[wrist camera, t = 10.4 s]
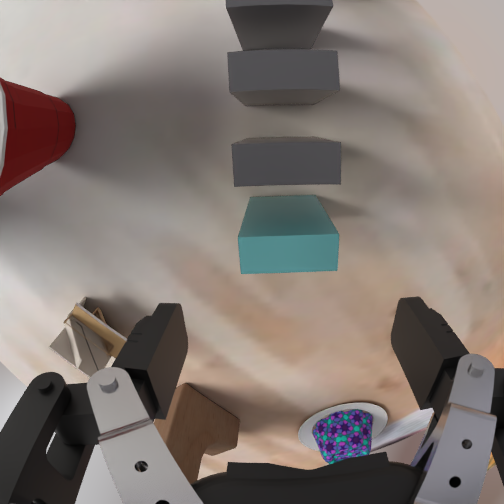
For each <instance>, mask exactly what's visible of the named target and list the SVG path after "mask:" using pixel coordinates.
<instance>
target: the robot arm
mask: <svg viewBox="0 0 504 504" xmlns="http://www.w3.org/2000/svg"><path fill="white" fill-rule="evenodd" d="M391 344H392V347H393V350H394V352H395V354H396V356H397V358H398V360H399V362H400V364H401V367H402V369H403V371H404V373H405V375H406V378H407V380H408V382H409V384H410V387H411V389H412V391H413V393H414V396H415V398H416V400H417V403H418V405H419V407H420V410H423V409H428V408H433V410H434V413H433V414H432V416H431V419H430V421H429V424H428V427H427V429H426V432H425V434H424V437H423V439H422V442H421V444H420V446H419V449H418V451H417V453H416V455H415V457H414V459H413V461H412V463H411V465H408V464H404V463H399V462H389V461H388V457H387V453H386V452H382V453H376V454H370V455H364V456H357V457H350V458H347V459H344V460H341V461H338V462H335V463H332V464H329V465H326V466H323V467H320V468H317V469H313V470H304V469H298V468H292V467H286V466H280V465H275V464H270V463H237V462H228V466H227V472H223V473H218V474H214V475H210V476H207V477H204V478H202V479H200V480H198V481H195V482H193V483H192V484H190V483H189V482H188V480H187V479H186V477H185V476H184V474H183V473H182V471H181V469H180V468H179V466H178V465H177V463H176V461H175V460H174V458H173V456H172V455H171V453H170V451H169V450H168V448H167V446H166V445H165V443H164V441H163V439H162V438H161V436H160V434H159V432H158V430H157V429H156V427H155V425H154V423H153V422H154V419H162V420H166V417H167V414H168V411H169V408H170V405H171V401H172V398H173V395H174V392H175V389H176V386H177V383H178V379H179V376H180V373H181V370H182V367H183V364H184V361H185V358H186V355H187V351H188V337H187V332H186V327H185V322H184V317H183V311H182V307H181V305H180V304H179V303H159V304H158V306H157V308H156V310H155V311H154V313H153V315H152V316H146V317H144V318H143V319H142V320H140V321H139V322H138V323H137V324H136V325H135V327H134V329H133V330H132V332H131V334H130V335H129V337H128V339H127V342H125V344H124V346H123V347H122V349H121V351H120V352H119V354H118V356H117V358H116V359H115V361H114V363H113V365H112V366H111V367H109V368H104V369H101V370H99V371H97V372H96V373H94V374H93V375H92V376H91V377H90V378H89V380H88V383H79V384H66V382H65V381H64V379H63V377H62V376H61V375H60V374H58V373H55V372H47V373H43V374H41V375H39V376H37V377H36V378H34V379H33V380H32V382H31V383H30V384H29V386H28V387H27V389H26V391H25V392H24V394H23V396H22V397H21V398H20V400H19V402H18V403H17V405H16V407H15V408H14V410H13V412H12V413H11V415H10V417H9V418H8V420H7V422H6V423H5V425H4V427H3V429H2V430H1V432H0V504H75V501H76V498H77V495H78V492H79V489H80V486H81V483H82V480H83V477H84V474H85V471H86V468H87V465H88V462H89V460H90V457H91V454H92V451H93V449H94V446H95V445H97V444H99V445H100V448H101V450H102V453H103V456H104V459H105V461H106V464H107V466H108V469H109V471H110V474H111V476H112V479H113V481H114V484H115V486H116V488H117V491H118V493H119V495H120V498H121V500H122V502H123V504H477V502H478V499H479V496H480V493H481V489H482V486H483V482H484V479H485V475H486V471H487V467H488V463H489V459H490V454H491V452H492V455H493V457H494V460H495V463H496V465H497V468H498V471H499V474H500V477H501V480H502V483H503V485H504V369H503V368H494V367H493V365H492V363H491V362H490V361H489V360H488V359H487V358H485V357H483V356H481V355H478V354H469V352H468V351H467V349H466V348H465V346H464V345H463V344H462V342H461V341H460V339H459V338H458V337H457V335H456V334H455V333H454V332H453V330H452V329H451V327H450V326H449V325H448V323H447V322H446V321H445V319H444V318H443V317H442V315H440V314H439V313H437V312H436V311H434V310H433V309H432V308H430V309H429V308H428V307H427V305H426V304H425V303H424V301H423V300H422V299H421V298H420V297H407V298H401V299H400V300H399V302H398V306H397V310H396V315H395V319H394V323H393V328H392V332H391ZM54 432H55V433H56V434H55V437H54V439H53V441H52V443H51V445H50V447H49V450H48V452H47V454H46V449H47V446H48V444H49V442H50V440H51V437H52V435H53V433H54Z"/></svg>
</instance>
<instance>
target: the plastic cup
mask: <svg viewBox="0 0 504 504" xmlns="http://www.w3.org/2000/svg"><path fill="white" fill-rule="evenodd" d="M75 126H76V125H75V118H74V113H73V112H72V110H71V108H70V106H69V105H68V104H66V103H65V102H63V101H62V100H60V99H59V98H57V97H53V96H50V95H46V94H44V93H42V92H40V91H37V90H34V89H31V88H28V87H25V86H21V85H18V84H15V83H12V82H8V81H5V80H3V79H2V78H0V196H1V195H3V193H4V192H5V191H7V190H9V189H10V188H12V187H13V186H15V185H16V184H18V183H20V182H21V181H23V180H25V179H26V178H28V177H30V176H31V175H33V174H35V173H36V172H38V171H40V170H42V169H43V168H44V167H45V166H46V165H48V164H50V163H52V162H54V161H56V160H58V159H59V158H60V157H61V156H62V155H63V154H64V153H65V152H66V151H67V150H68V149H69V148H70V145H71V143H72V141H73V139H74V134H75Z"/></svg>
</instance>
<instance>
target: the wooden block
mask: <svg viewBox="0 0 504 504" xmlns="http://www.w3.org/2000/svg"><path fill="white" fill-rule="evenodd" d="M239 423H240V421H239V419H238V418H236V417H235V416H233V415H232V414H230V413H229V412H227V411H226V410H224V409H222V408H221V407H219V406H218V405H216V404H215V403H213V402H212V401H211V400H209V399H208V398H206V397H205V396H203V395H202V394H200V393H199V392H198V391H196V390H195V389H193V388H192V387H191V386H189V385H188V384H186V383H184V384H182V385H180V386H179V387H177V388H176V389H175V392H174V395H173V398H172V401H171V405H170V408H169V411H168V414H167V417H166V420H162V419H155V422H154V425H155V427H156V429H157V430H158V432H159V434H160V436H161V438H162V439H163V441H164V443H165V445H166V446H167V448H168V450H169V451H170V453H171V455H172V456H173V458H174V460H175V461H176V463H177V465H178V466H179V468H180V469H181V471H182V473H183V474H184V476H185V477H186V479H187V480H188V482H189V483H190V484H192V483H193V482H195V481H197V478H198V473H199V468H200V463H201V458H202V456H203V454H204V453H205V454H208V455H211V456H213V455H217V454H220V453H222V452H225V451H228V450H231V449H234V448H236V446H237V441H238V432H239Z"/></svg>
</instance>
